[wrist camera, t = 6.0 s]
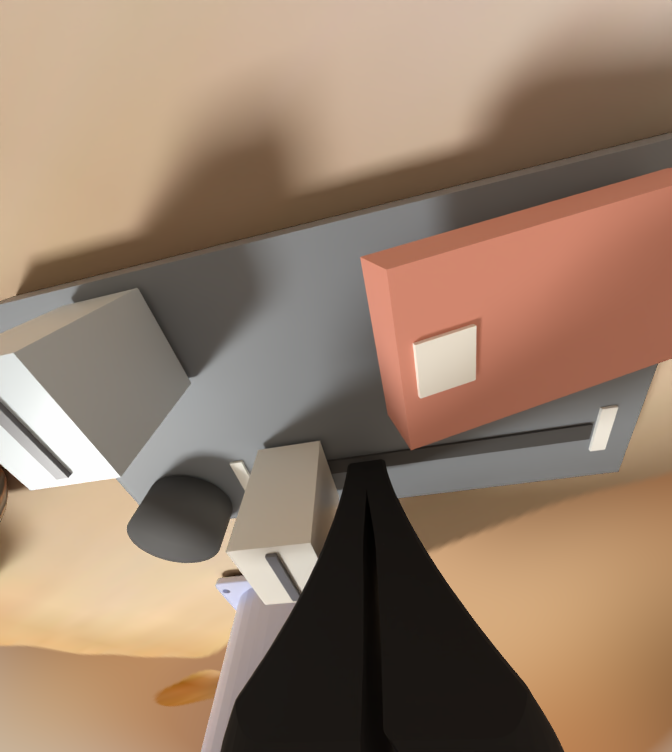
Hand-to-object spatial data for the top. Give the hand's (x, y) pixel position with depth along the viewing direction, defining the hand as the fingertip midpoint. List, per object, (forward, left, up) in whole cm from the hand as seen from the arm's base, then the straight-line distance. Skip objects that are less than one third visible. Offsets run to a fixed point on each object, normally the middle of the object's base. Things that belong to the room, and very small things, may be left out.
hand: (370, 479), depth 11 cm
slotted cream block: (0, +3, -1) cm, 3 cm away
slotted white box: (+7, +6, -1) cm, 9 cm away
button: (-1, +8, -1) cm, 8 cm away
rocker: (+6, -5, +1) cm, 8 cm away
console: (+3, 0, -2) cm, 4 cm away
